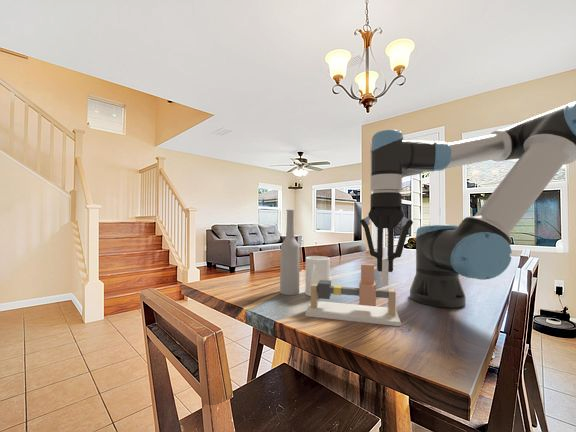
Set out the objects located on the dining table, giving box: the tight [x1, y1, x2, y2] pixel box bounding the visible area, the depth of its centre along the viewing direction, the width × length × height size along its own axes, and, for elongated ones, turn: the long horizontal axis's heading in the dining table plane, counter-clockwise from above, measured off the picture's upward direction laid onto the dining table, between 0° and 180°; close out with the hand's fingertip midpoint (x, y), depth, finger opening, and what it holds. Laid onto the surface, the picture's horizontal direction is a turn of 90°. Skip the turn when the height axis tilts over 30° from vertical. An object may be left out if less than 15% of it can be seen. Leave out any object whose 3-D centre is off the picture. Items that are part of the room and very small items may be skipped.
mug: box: [304, 255, 331, 297], centre depth 89 cm, size 12×8×12 cm
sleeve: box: [358, 263, 377, 306], centre depth 71 cm, size 4×5×10 cm
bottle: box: [279, 209, 300, 296], centre depth 91 cm, size 7×7×28 cm
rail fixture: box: [304, 280, 402, 327], centre depth 72 cm, size 23×10×8 cm, turn 75°
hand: (384, 284), depth 70 cm, fingers closed
